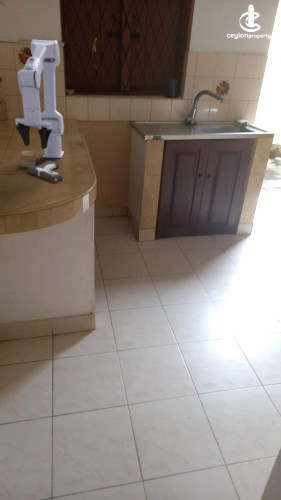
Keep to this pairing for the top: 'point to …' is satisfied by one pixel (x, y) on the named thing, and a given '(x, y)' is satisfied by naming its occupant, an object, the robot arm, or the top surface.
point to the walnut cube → (28, 158)
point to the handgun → (46, 171)
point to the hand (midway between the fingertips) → (35, 146)
